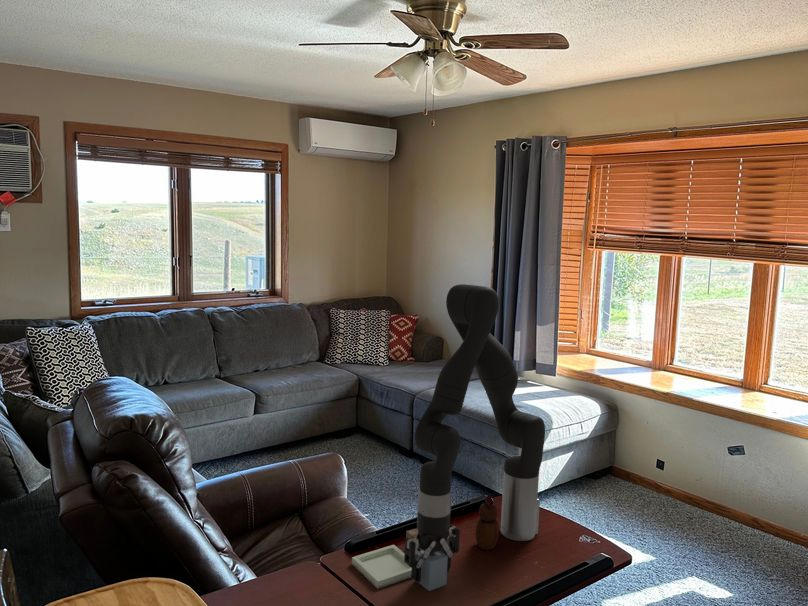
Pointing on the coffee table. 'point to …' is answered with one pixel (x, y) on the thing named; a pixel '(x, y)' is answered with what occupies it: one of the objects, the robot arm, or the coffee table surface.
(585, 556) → the coffee table surface
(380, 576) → the tray
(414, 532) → the wooden socket block
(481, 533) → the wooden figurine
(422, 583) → the slate block
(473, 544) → the coffee table surface
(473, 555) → the coffee table surface
